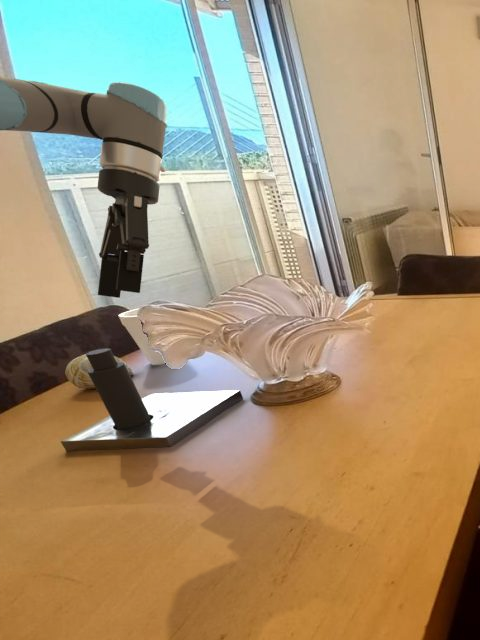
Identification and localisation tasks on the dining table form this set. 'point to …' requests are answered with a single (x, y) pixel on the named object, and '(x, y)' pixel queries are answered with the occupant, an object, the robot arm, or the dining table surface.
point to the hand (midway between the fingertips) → (118, 294)
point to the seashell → (84, 371)
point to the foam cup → (140, 336)
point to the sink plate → (157, 422)
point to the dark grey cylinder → (117, 390)
